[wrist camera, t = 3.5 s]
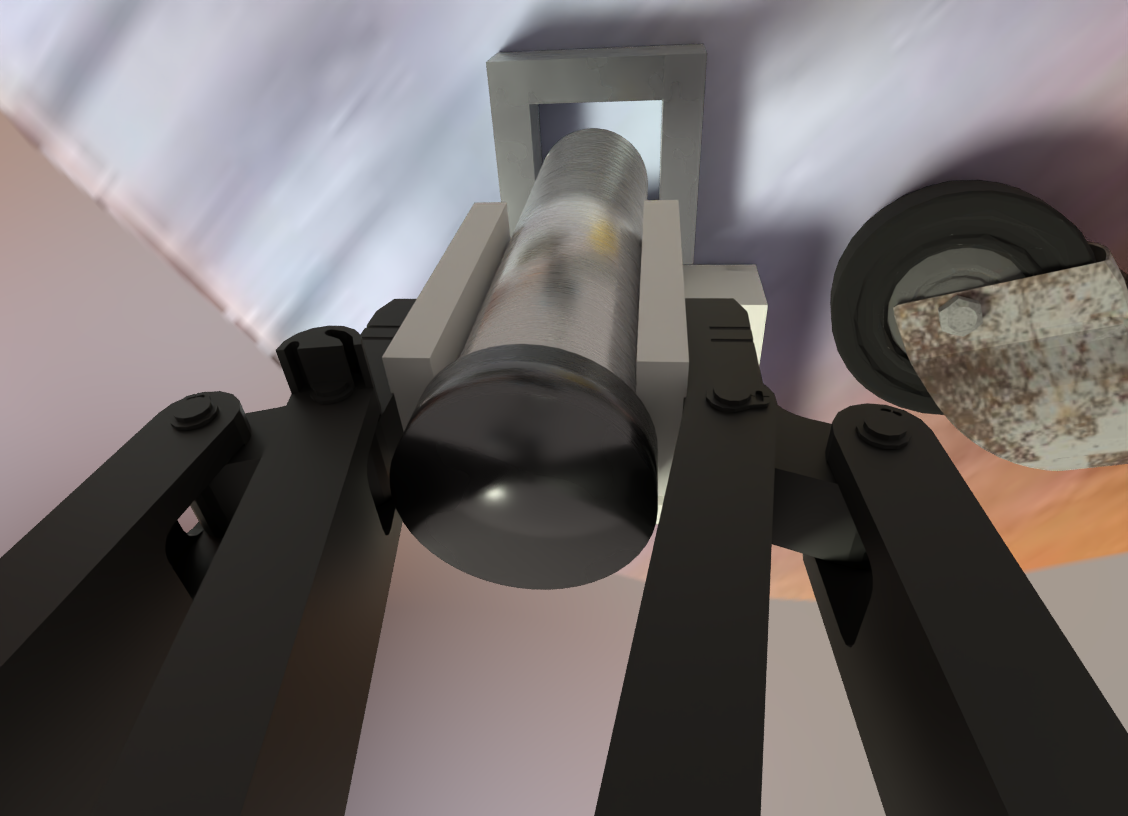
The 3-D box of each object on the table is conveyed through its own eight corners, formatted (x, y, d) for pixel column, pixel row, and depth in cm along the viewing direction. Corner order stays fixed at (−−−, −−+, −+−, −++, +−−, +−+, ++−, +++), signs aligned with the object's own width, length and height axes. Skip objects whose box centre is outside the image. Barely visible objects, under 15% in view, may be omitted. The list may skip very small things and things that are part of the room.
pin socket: (497, 52, 23) (486, 62, 22) (703, 43, 22) (707, 53, 21) (516, 244, 27) (507, 265, 26) (690, 243, 26) (693, 264, 25)
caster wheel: (812, 206, 28) (1112, 123, 23) (860, 442, 31) (1124, 408, 27) (810, 244, 22) (1204, 143, 18) (868, 526, 26) (1203, 498, 22)
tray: (480, 265, 28) (461, 304, 25) (755, 264, 27) (767, 305, 24) (508, 468, 34) (495, 517, 32) (729, 475, 33) (736, 526, 30)
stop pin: (524, 118, 19) (360, 391, 8) (659, 115, 18) (662, 398, 8) (535, 245, 21) (417, 582, 11) (656, 244, 21) (654, 596, 10)
